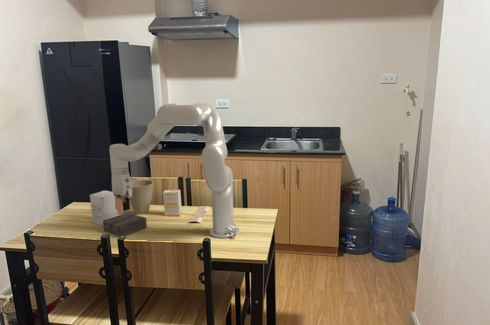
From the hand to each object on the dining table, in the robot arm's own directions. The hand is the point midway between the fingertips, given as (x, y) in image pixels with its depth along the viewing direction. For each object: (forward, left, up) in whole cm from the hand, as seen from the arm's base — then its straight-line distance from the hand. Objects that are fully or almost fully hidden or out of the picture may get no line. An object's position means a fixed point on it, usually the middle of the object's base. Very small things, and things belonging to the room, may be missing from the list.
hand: (123, 208), depth 176 cm
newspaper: (-16, -35, -12) cm, 40 cm away
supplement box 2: (-3, -27, -11) cm, 29 cm away
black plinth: (0, 0, -11) cm, 11 cm away
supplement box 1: (+17, 0, -11) cm, 20 cm away
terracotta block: (0, 0, -1) cm, 1 cm away
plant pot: (+15, -20, -11) cm, 27 cm away
